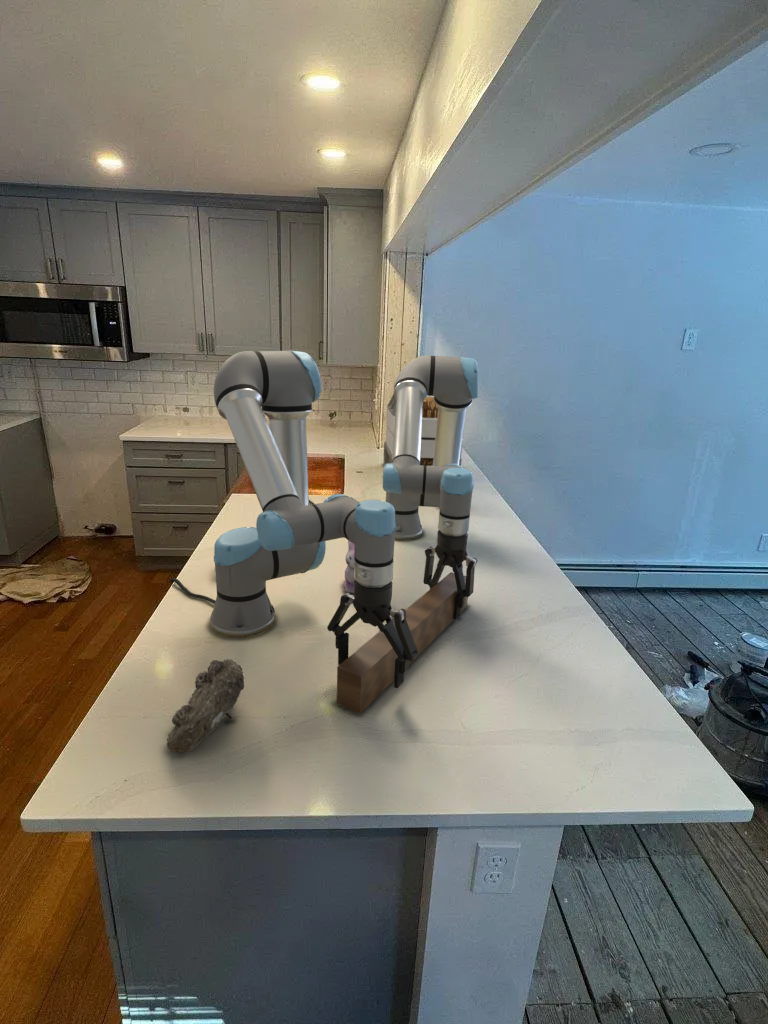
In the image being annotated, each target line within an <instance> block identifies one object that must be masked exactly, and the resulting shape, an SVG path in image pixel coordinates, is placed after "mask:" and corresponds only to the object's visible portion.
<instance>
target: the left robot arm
mask: <svg viewBox="0 0 768 1024" xmlns="http://www.w3.org/2000/svg"><path fill="white" fill-rule="evenodd" d="M214 378H215V379H214V384H213V399H214V404H215V406H216V409H217V411H218V414H219V415H220V417H221V418H223V419H224V420H226V421H227V424H228V426H229V428H230V431H231V434H232V437H233V439H234V441H235V445H236V446H237V449H238V452H239V455H240V457H241V459H242V462H243V464H244V467H245V470H246V472H247V475H248V477H249V480H250V482H251V485H252V487H253V490H254V492H255V495H256V498H257V500H258V503H259V505H260V508H261V510H262V512H260V513H259V514H258V516H257V518H256V523H255V524H256V525H255V526H250V527H247V526H242V527H236V528H233V529H230V530H228V531H225V532H224V533H222V534H221V535H220V536H219V537H218V538H217V539H216V540H215V543H214V547H213V548H214V552H213V553H214V554H213V562H214V572H215V573H214V574H215V585H216V587H215V589H216V598H215V599H213V598H211V597H209V596H206V595H203V594H199V593H198V594H197V593H193V592H191V591H190V590H189V589H188V588H187V587H186V586H184V584H183V583H182V582H181V581H180V580H179V579H178V578H175V577H171V578H170V580H169V581H168V582H169V583H175V584H176V585H177V586H178V587H179V588H180V589H181V590H182V591H183V592H184V593H185V594H186V595H187V596H189V597H192V598H194V599H200V600H205V601H207V602H210V603H211V604H213V605H214V606H213V609H212V612H211V615H210V626H211V627H210V628H211V629H212V630H213V632H215V633H216V634H218V635H219V636H220V635H221V636H223V637H227V638H232V639H233V638H235V639H239V638H249V637H254V636H258V635H259V634H262V633H264V632H266V631H268V630H269V629H270V628H271V627H272V626H273V624H274V622H275V614H276V611H275V607H274V605H273V604H272V603H271V600H270V598H269V595H268V593H267V581H271V580H275V579H280V578H284V577H289V576H293V575H298V574H305V573H307V572H309V571H313V570H316V569H318V568H319V567H320V566H321V564H323V561H324V559H325V555H326V551H327V550H326V548H327V547H326V546H327V545H326V543H327V542H329V541H333V540H338V539H343V538H344V539H346V540H347V541H348V540H349V541H350V542H352V543H354V544H355V556H354V578H355V580H354V593H351V592H350V591H349V592H347V591H346V592H345V593H344V594H343V595H341V596H340V599H339V600H340V601H339V605H338V607H337V609H336V611H335V612H334V614H333V616H332V618H331V619H330V621H329V622H328V625H327V627H326V628H327V631H328V632H332V633H333V634H334V636H335V648H336V649H337V665H338V666H339V665H340V664H341V663H343V662H344V661H345V660H346V659H347V658H349V650H350V649H349V644H350V641H349V639H350V633H349V632H347V630H348V629H349V628H351V627H352V626H353V625H354V624H355V623H356V622H358V620H361V622H362V623H363V624H369V625H371V626H372V627H375V628H376V627H377V628H378V630H379V632H380V631H381V632H383V633H384V635H385V636H386V638H387V640H388V641H389V643H390V644H391V646H392V648H393V649H394V651H395V653H396V654H397V656H398V657H397V658H396V659H395V674H394V680H393V688H394V689H398V688H400V687H401V686H402V685H403V684H404V682H405V674H406V673H407V672H408V670H409V666H410V664H409V661H412V660H413V659H414V658H415V657H416V656H417V655H418V654H419V653H418V650H417V647H416V645H415V642H414V639H413V637H412V634H411V631H410V629H409V626H408V623H407V621H406V611H405V610H406V609H405V608H400V609H393V607H392V598H393V579H394V557H395V541H396V540H395V529H396V523H395V509H394V507H393V506H392V505H391V504H390V503H388V502H386V500H383V501H382V500H381V499H367V500H362V501H358V500H357V499H356V498H353V497H351V496H348V495H345V494H342V493H335V494H331V495H330V496H329V497H328V498H326V499H325V500H324V501H323V502H320V503H314V504H310V503H309V500H310V495H309V473H308V472H309V471H308V469H309V468H308V467H309V466H308V443H307V439H308V438H307V417H308V416H309V414H311V412H312V411H313V403H315V402H317V401H318V400H319V398H320V396H321V395H320V394H321V393H322V379H321V374H320V371H319V368H318V365H317V364H316V362H315V360H314V359H313V357H312V356H311V355H310V354H309V353H307V352H304V351H297V350H290V349H289V350H263V351H262V350H257V351H255V350H246V351H245V350H244V351H243V350H242V351H240V352H237V353H235V354H232V355H231V356H229V357H228V358H227V359H226V360H225V361H224V363H223V364H222V365H221V366H220V367H219V369H218V371H217V373H216V375H215V377H214ZM266 417H267V418H268V421H267V418H266ZM351 605H353V608H354V609H355V611H356V612H354V614H353V615H352V616H350V617H349V619H346V621H345V622H343V624H341V622H342V620H343V619H344V617H345V615H346V613H347V611H348V610H349V608H350V606H351ZM394 622H395V627H396V628H395V627H394V625H393V623H394ZM384 623H385V624H384ZM340 624H341V625H340ZM419 655H420V654H419ZM419 655H418V656H419ZM418 656H417V657H418ZM417 657H416V658H417ZM416 658H415V659H416ZM415 659H414V660H415ZM414 660H413V661H414ZM413 661H412V662H413Z"/></svg>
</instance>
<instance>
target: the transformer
mask: <svg viewBox="0 0 768 1024" xmlns="http://www.w3.org/2000/svg"><path fill="white" fill-rule="evenodd" d="M396 402H397V400H396V399H395V397H394V393H393V394H392V395H391V398H390V400H389V402H388V404H387V405H386V413H385V414H386V415H385V423H386V428H385V438H384V442H383V466H384V465H385V464H390V463H392V452H393V439H394V427H395V414H396ZM437 415H438V405H437V404H436V403H435V401H434V396H426V398H425V400H424V401H423V408H422V430H421V452H420V465H422V466H432V465H433V458H434V448H435V437H436V426H437ZM464 429H465V428H464ZM464 429H463V433H464V431H465V430H464ZM463 438H464V435H463V436H462V439H463ZM463 442H464V441H463V440H462V444H461V452H460V460H459V465H460V466H461V467H462V461H463V460H462V453H463Z"/></svg>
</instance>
